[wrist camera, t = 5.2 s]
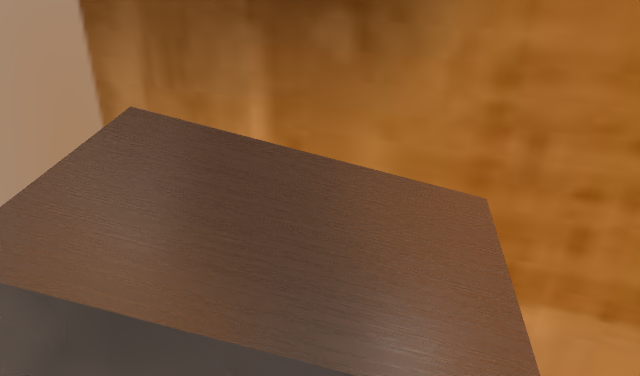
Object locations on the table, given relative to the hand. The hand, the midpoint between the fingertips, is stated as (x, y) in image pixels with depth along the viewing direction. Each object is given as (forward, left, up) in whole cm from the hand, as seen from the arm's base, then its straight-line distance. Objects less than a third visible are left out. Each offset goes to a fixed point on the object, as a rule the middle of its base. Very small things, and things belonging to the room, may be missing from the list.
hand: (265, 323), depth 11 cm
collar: (0, 0, -1) cm, 1 cm away
